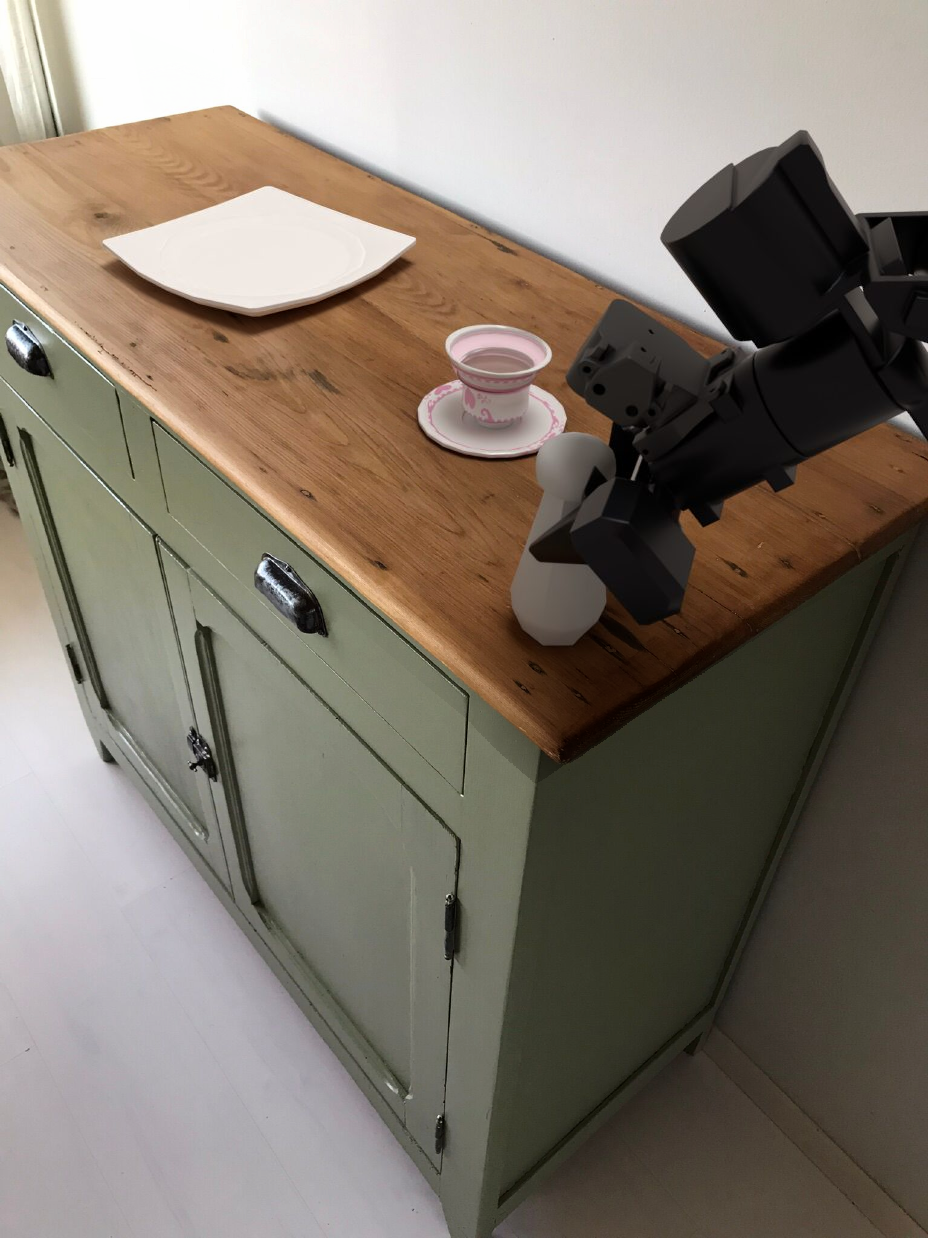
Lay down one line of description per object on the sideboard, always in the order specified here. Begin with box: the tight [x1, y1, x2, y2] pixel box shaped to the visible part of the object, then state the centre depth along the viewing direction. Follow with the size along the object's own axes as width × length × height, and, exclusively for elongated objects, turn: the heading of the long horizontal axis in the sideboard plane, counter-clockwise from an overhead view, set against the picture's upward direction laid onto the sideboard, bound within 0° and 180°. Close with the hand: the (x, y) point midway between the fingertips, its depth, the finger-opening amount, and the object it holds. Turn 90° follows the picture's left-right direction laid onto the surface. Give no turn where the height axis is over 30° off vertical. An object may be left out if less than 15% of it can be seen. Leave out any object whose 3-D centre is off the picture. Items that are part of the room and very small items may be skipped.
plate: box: [101, 185, 417, 317], centre depth 96 cm, size 24×24×3 cm
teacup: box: [417, 324, 568, 459], centre depth 75 cm, size 12×12×6 cm
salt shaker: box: [509, 431, 616, 646], centre depth 55 cm, size 6×6×13 cm
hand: (542, 535), depth 55 cm, fingers closed on salt shaker, 3 cm apart
